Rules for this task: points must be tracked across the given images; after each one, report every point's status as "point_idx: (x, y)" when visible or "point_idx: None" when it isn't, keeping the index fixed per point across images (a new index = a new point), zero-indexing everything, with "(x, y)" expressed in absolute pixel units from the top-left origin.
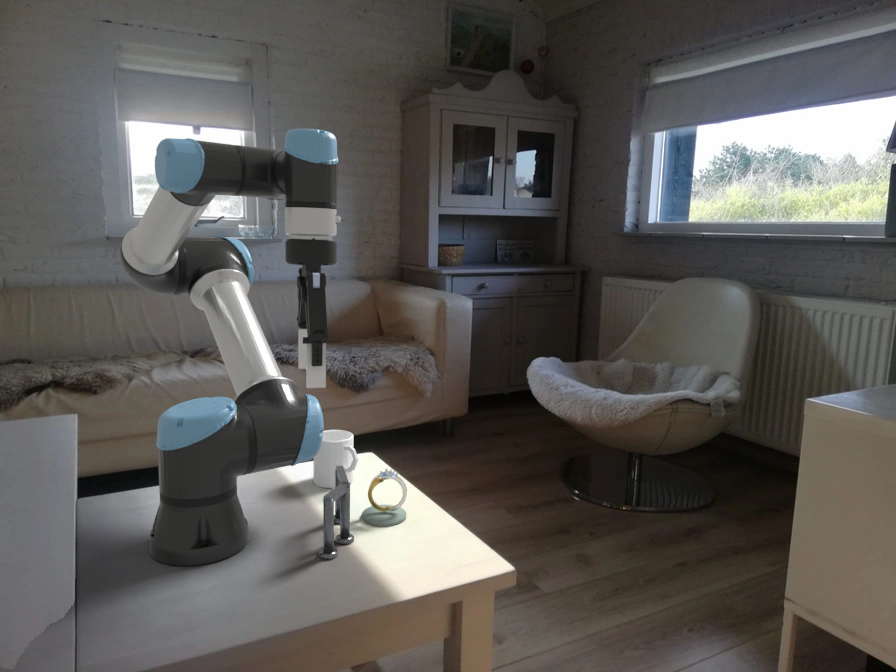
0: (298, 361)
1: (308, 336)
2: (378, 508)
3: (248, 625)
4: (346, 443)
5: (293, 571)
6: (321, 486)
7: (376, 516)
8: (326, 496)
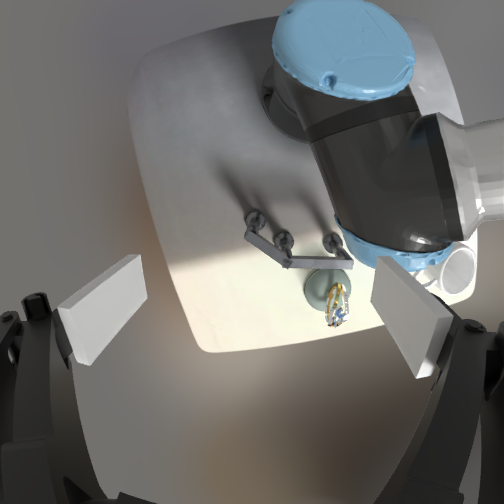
0: (393, 263)
1: (5, 314)
2: (331, 287)
3: (153, 149)
4: (438, 283)
5: (230, 184)
6: None
7: (323, 282)
8: (247, 234)
